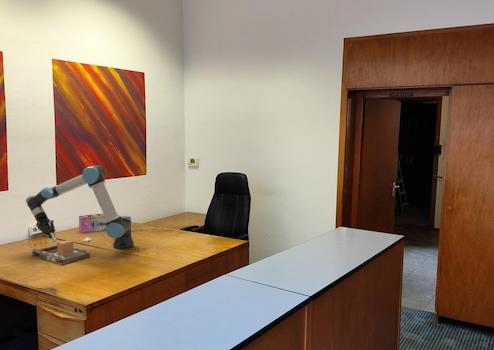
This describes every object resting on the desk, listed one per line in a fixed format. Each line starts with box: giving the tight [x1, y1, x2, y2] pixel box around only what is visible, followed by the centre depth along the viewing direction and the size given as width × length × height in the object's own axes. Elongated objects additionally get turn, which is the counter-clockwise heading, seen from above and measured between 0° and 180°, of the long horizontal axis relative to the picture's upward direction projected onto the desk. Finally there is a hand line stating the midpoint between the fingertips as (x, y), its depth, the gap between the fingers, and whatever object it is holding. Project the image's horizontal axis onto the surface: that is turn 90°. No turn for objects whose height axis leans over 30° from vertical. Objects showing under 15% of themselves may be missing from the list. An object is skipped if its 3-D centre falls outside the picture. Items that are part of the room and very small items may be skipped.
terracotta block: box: [56, 239, 74, 255], centre depth 292 cm, size 6×8×8 cm
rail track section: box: [31, 245, 91, 265], centre depth 296 cm, size 36×20×4 cm, turn 57°
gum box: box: [78, 213, 107, 234], centre depth 372 cm, size 24×8×14 cm, turn 125°
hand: (54, 241), depth 298 cm, fingers closed
